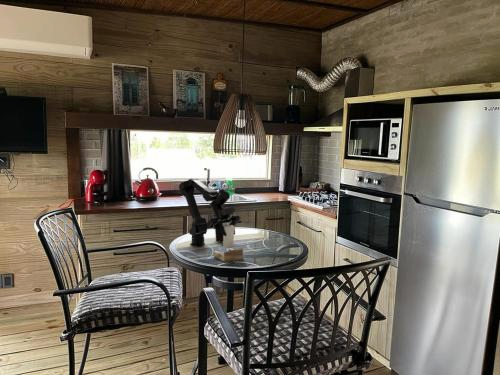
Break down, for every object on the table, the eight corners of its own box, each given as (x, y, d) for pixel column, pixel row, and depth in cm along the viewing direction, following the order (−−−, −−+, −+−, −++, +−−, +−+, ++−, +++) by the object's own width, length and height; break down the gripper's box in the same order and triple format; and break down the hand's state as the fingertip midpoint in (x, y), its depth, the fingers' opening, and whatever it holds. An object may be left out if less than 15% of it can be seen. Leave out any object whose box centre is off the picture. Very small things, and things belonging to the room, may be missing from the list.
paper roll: (220, 246, 202) (221, 225, 200) (229, 244, 205) (229, 223, 204) (227, 248, 198) (228, 227, 196) (235, 247, 201) (236, 225, 200)
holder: (214, 257, 202) (214, 247, 201) (230, 253, 209) (231, 244, 209) (225, 262, 195) (226, 252, 194) (242, 258, 202) (242, 249, 201)
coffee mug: (220, 237, 241) (221, 221, 240) (231, 240, 236) (231, 224, 234) (207, 240, 232) (208, 224, 231) (217, 243, 227) (218, 227, 226)
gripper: (210, 202, 195) (223, 228, 188) (239, 200, 208) (251, 224, 201) (201, 215, 202) (213, 240, 195) (229, 212, 214) (241, 235, 208)
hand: (230, 235), depth 200 cm, fingers closed on paper roll, 5 cm apart
